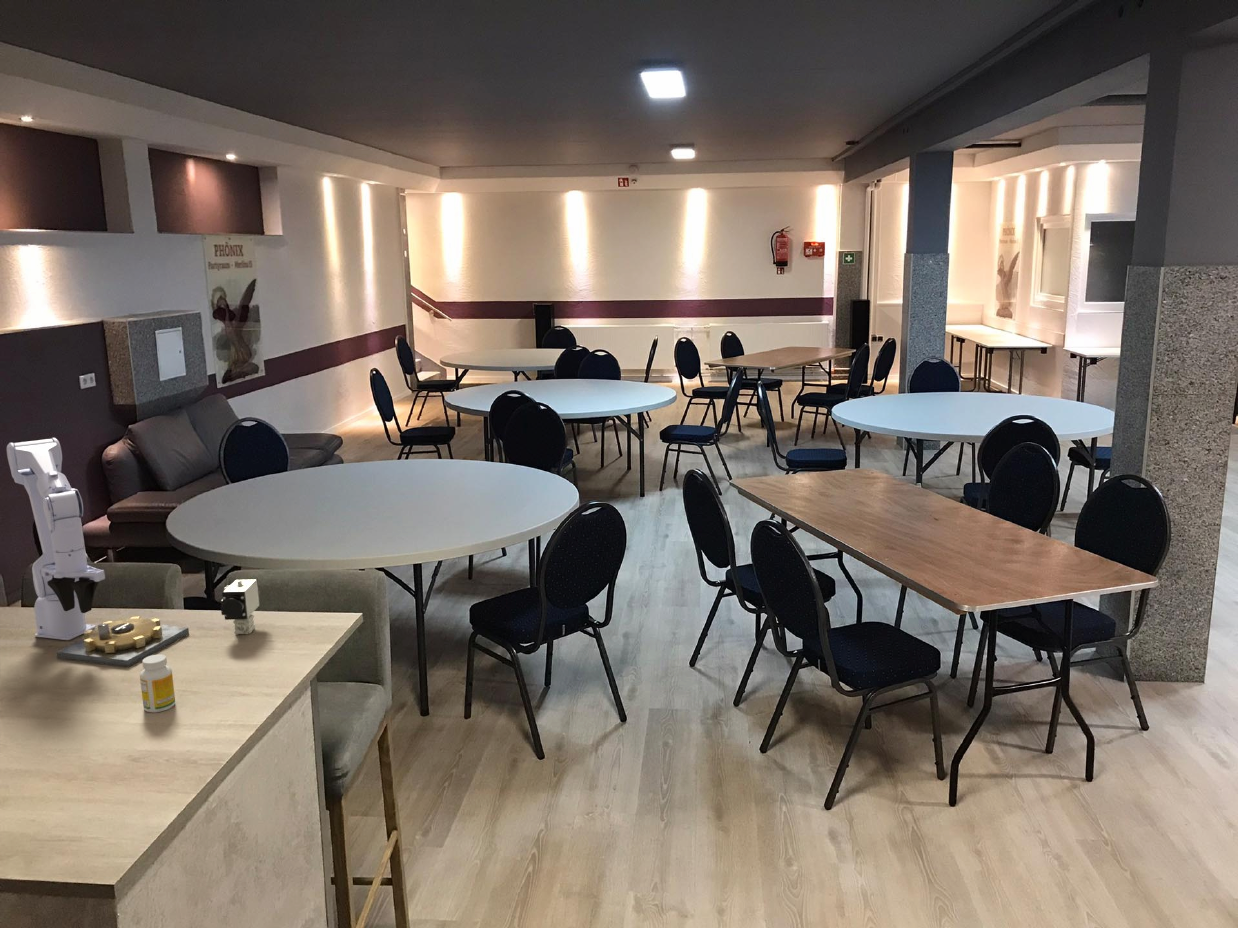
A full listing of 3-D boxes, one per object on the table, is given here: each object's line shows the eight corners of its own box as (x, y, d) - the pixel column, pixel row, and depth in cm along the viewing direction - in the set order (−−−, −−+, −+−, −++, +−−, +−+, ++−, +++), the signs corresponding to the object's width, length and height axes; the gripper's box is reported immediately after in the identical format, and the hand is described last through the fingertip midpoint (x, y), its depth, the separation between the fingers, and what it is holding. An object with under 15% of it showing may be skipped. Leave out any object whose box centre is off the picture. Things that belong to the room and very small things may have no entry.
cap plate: (57, 658, 201) (56, 651, 201) (122, 626, 218) (121, 620, 218) (128, 667, 197) (127, 660, 196) (189, 633, 213) (188, 627, 213)
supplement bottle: (138, 713, 177) (132, 664, 175) (152, 700, 182) (146, 652, 180) (167, 713, 177) (161, 664, 175) (180, 699, 182) (175, 652, 180)
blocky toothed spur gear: (121, 622, 216) (118, 601, 215) (176, 628, 212) (174, 607, 211) (68, 648, 202) (65, 626, 201) (126, 655, 198) (123, 632, 197)
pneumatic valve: (264, 621, 220) (259, 571, 217) (246, 641, 209) (241, 589, 206) (239, 622, 220) (234, 572, 217) (220, 642, 208) (215, 590, 206)
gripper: (24, 551, 198) (34, 614, 200) (82, 556, 194) (91, 620, 197) (53, 541, 204) (61, 602, 207) (109, 546, 200) (117, 608, 203)
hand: (77, 610), depth 202 cm, fingers open, 4 cm apart
